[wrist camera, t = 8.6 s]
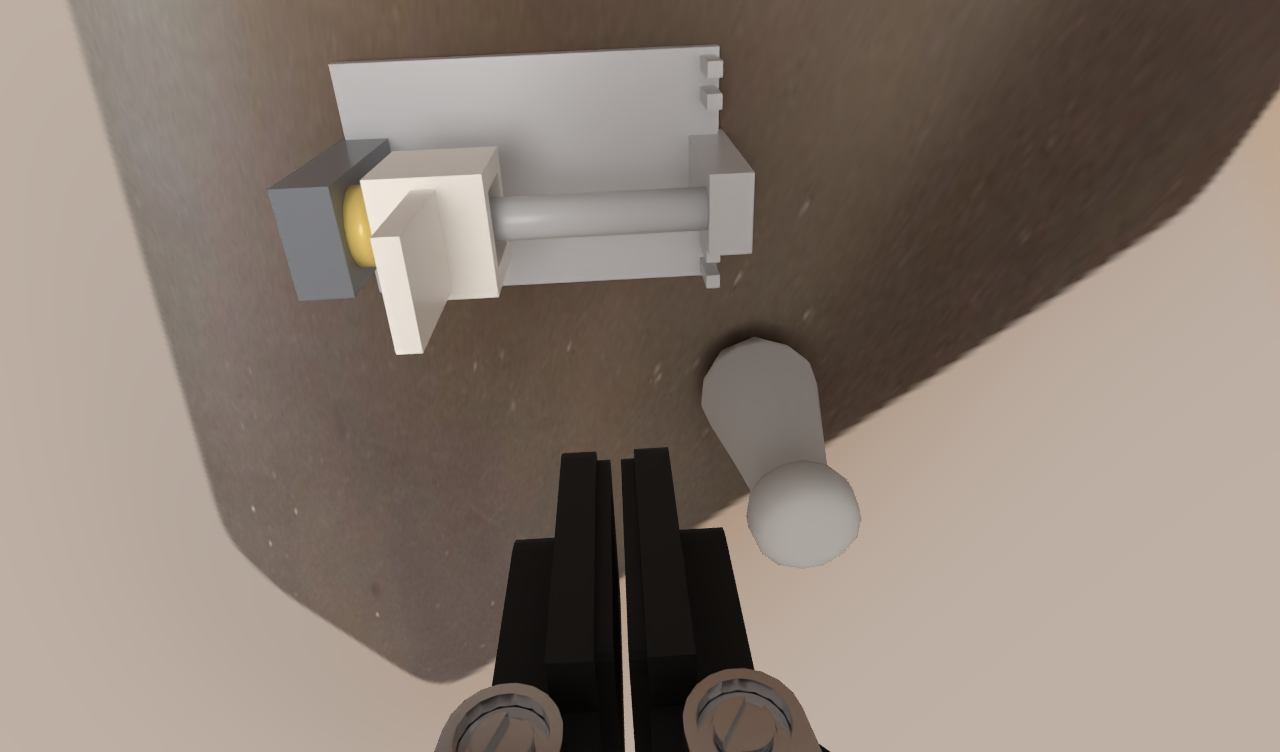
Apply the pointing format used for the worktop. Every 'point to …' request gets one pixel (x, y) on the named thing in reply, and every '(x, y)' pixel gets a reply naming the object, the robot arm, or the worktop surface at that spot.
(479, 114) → the slider rail rig
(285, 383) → the worktop surface
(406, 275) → the square collar block
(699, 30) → the worktop surface
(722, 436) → the salt shaker
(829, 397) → the worktop surface
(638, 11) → the worktop surface
